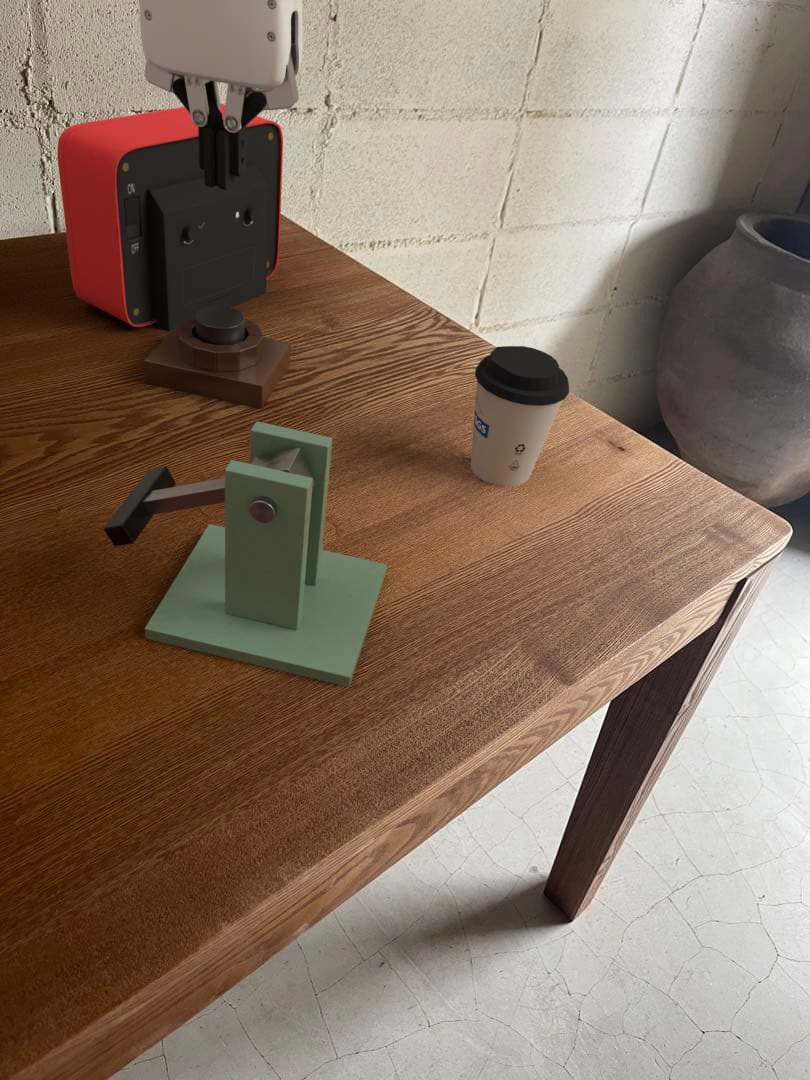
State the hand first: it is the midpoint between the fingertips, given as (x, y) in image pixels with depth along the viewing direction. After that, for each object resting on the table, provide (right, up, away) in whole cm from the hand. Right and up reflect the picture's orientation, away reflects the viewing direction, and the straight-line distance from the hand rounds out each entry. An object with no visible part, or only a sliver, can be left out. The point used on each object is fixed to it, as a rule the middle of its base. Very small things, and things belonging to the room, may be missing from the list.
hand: (223, 182), depth 64 cm
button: (-2, -9, +8) cm, 13 cm away
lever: (+3, -25, -15) cm, 29 cm away
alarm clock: (-8, -3, +21) cm, 22 cm away
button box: (-2, -12, +10) cm, 16 cm away
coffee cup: (+21, -22, +4) cm, 30 cm away
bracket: (+5, -31, -11) cm, 33 cm away
